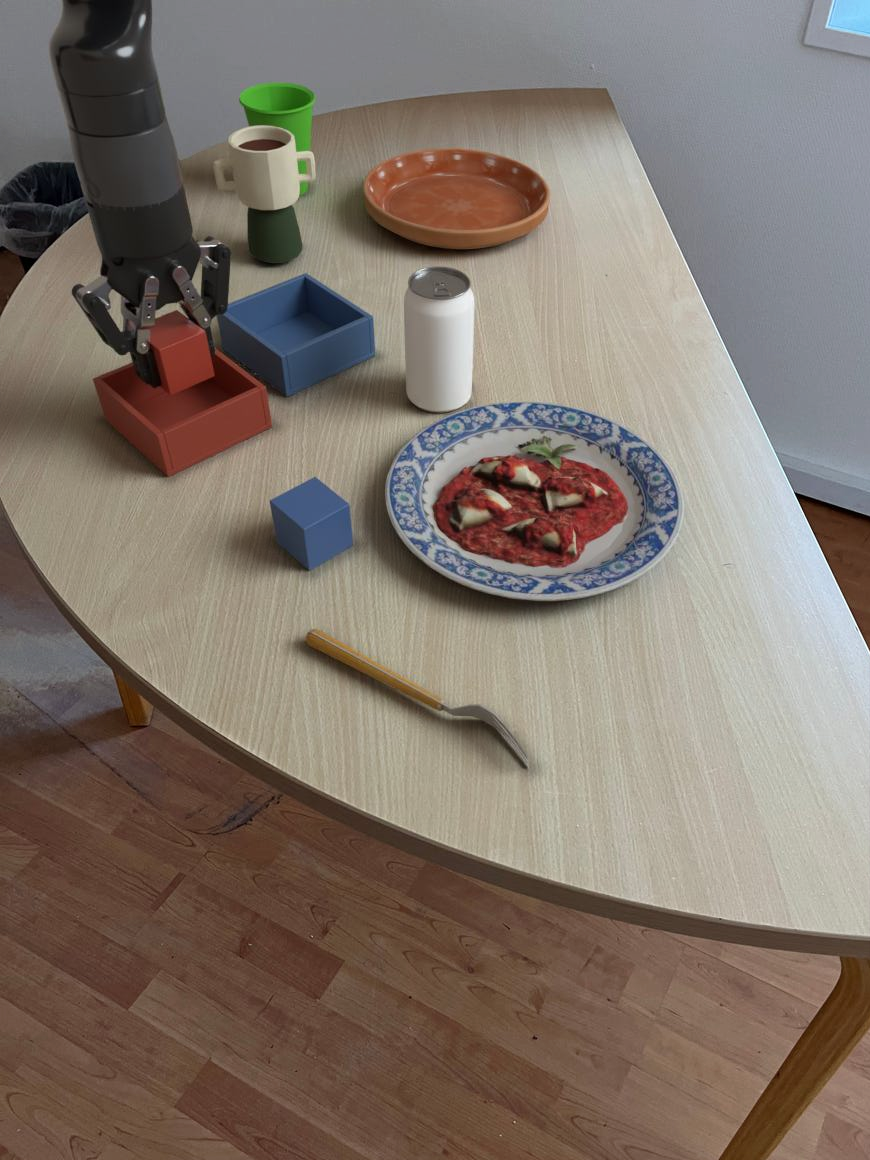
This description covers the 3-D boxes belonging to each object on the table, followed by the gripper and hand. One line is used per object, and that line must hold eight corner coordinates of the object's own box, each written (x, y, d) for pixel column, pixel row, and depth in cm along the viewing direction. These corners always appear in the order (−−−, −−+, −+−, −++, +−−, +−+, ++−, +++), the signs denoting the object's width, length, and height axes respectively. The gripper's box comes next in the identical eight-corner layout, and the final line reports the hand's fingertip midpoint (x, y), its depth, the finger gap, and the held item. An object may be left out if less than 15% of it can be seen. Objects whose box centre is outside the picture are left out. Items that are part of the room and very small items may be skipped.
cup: (263, 210, 119) (250, 115, 111) (244, 179, 124) (230, 87, 116) (332, 199, 122) (325, 106, 113) (310, 169, 127) (302, 78, 118)
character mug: (316, 235, 115) (305, 120, 105) (329, 263, 111) (318, 147, 101) (224, 246, 113) (204, 129, 103) (234, 275, 108) (214, 157, 99)
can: (466, 374, 97) (469, 262, 88) (476, 412, 93) (481, 298, 84) (402, 378, 96) (399, 265, 87) (410, 417, 92) (407, 303, 83)
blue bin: (286, 397, 94) (281, 357, 90) (222, 348, 99) (214, 308, 95) (375, 355, 99) (373, 316, 96) (310, 311, 104) (306, 272, 101)
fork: (296, 637, 72) (527, 756, 65) (310, 618, 72) (540, 734, 65) (305, 653, 74) (529, 770, 67) (319, 634, 74) (543, 748, 68)
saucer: (486, 162, 130) (488, 133, 127) (583, 234, 118) (587, 204, 115) (333, 197, 122) (331, 167, 119) (420, 278, 109) (419, 247, 107)
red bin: (168, 477, 85) (157, 436, 82) (104, 419, 90) (91, 378, 87) (272, 427, 91) (266, 386, 87) (206, 375, 96) (198, 334, 92)
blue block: (309, 571, 78) (303, 529, 75) (276, 542, 80) (269, 500, 77) (353, 545, 80) (349, 504, 77) (320, 517, 83) (315, 476, 79)
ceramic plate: (605, 664, 73) (610, 639, 71) (327, 542, 81) (323, 516, 78) (721, 478, 88) (728, 452, 86) (477, 390, 96) (478, 364, 93)
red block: (170, 396, 85) (159, 350, 81) (143, 373, 87) (130, 327, 83) (215, 376, 87) (205, 330, 83) (187, 354, 89) (176, 309, 85)
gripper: (186, 140, 79) (222, 327, 91) (20, 190, 72) (85, 384, 85) (238, 171, 75) (268, 360, 88) (69, 226, 68) (129, 423, 81)
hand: (178, 371), depth 86 cm, fingers closed on red block, 4 cm apart
